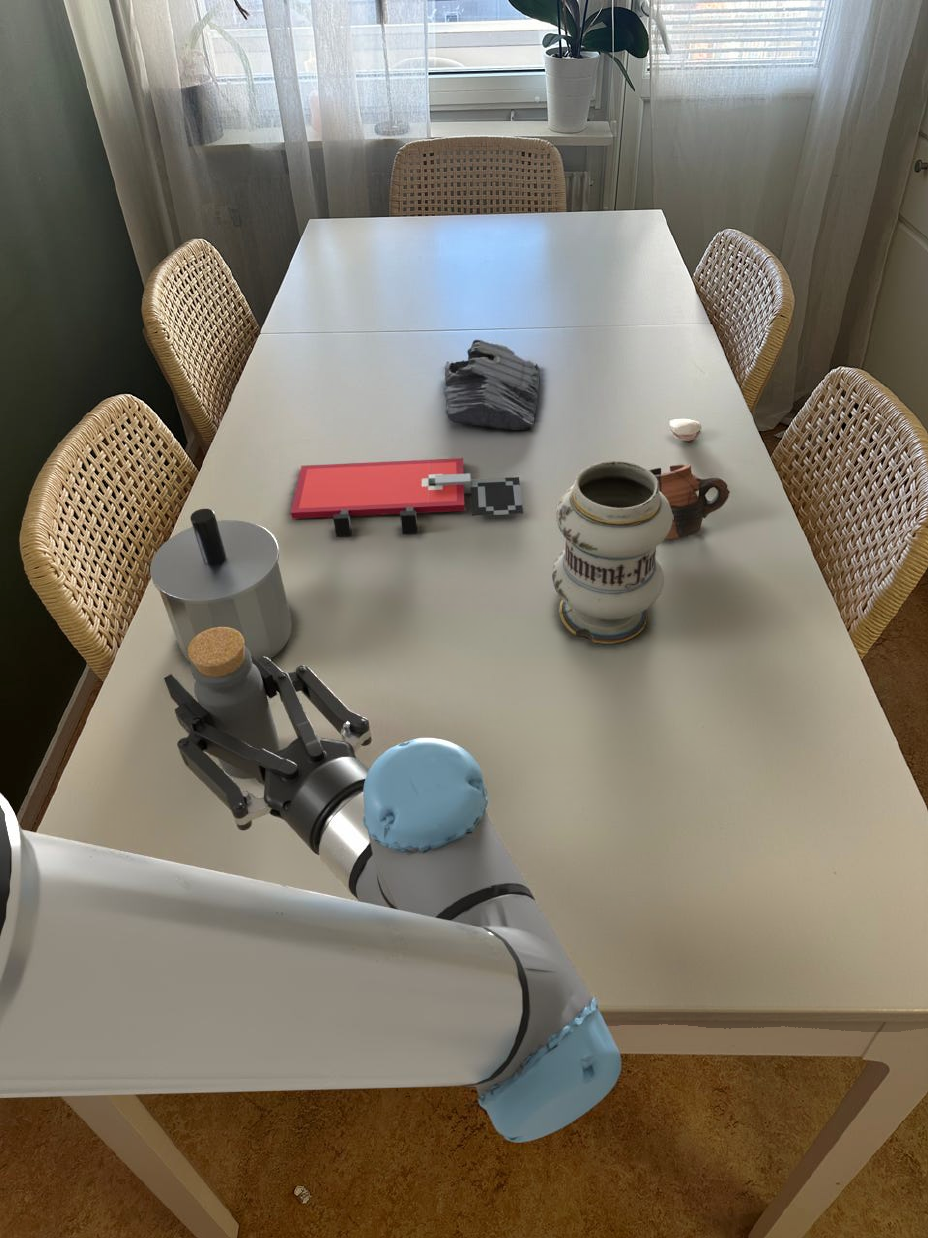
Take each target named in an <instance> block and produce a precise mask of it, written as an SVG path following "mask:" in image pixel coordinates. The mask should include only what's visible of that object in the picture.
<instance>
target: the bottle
mask: <svg viewBox="0 0 928 1238" xmlns="http://www.w3.org/2000/svg"><path fill="white" fill-rule="evenodd" d="M188 656H189V658H190V659H191V661H192V662H191V663H190V671H191V675H192V677H193V679H194V685H193V691H194V694H195V698H196V701H197V702H198V703H199V704H200V705H201V706H202V707H203V709H204V710H205V711H206V712H207V713H208V714H209V717H210V720H211V723H212V726H213V727H214V728H216V729H218V730H220V731H222V732H224V733H226V734H228V735H230V736H232V737H234V738H236V739H238V740H240V741H242V742H244V743H246V744H248V745H250V746H252V747H254V748H256V749H258V750H260V749H265V750H267V751H269V752H271V753H273V754H274V753H276V752H277V751H280V750H282V749H281V743H280V739H279V735H278V731H277V728H276V727H277V726H276V723H275V720H274V717H273V712H272V709H271V706H270V702H269V697H268V696H267V695H266V691H265V688H264V684H263V681H262V678H261V675H260V672H259V670H258V668H257V667H256V666H255V665H254V664H253V663H252V658H251V654H250V652H249V650H248V648H247V647H246V646H245V645H244V638H243V636H242V635H241V633H240V632H238V631H237V630H235V629H233V628H229V627H216V628H211V629H208V630H205V631H203V632H201V633H200V634H198V635H197V636H196V637H195V638H194V639H193V640H192V641H191V643H190V645H189V647H188ZM218 762H219V764H220V767H221V769H222V770H223V771H224V772H225V773H226V774H227V775H228V776H229V777H231V778H232V777H233V778H235V779H240V780H250V779H256V778H255V777H253V776H251V775H249V774H247V773H245V772H243V771H241V770H239V769H238V768H236V767H234V766H232V765H230V764H228V763H226V762H224V761H222V760H220V759H218Z"/></svg>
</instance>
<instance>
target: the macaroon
mask: <svg viewBox="0 0 928 1238" xmlns="http://www.w3.org/2000/svg"><path fill="white" fill-rule="evenodd" d="M669 428H670V431H671V434H672V435H673V437H674V438H675V439H677V440H678V441H679V440H680V441H683V442H690V441H694V440H695V439H696V438H698V437H699V436H700V435H701V433H702V432H701V431H702V424H701V423H700V422H699V421H698V420H695V419H690V418H677V419H672V420H670V421H669Z"/></svg>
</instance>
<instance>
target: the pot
mask: <svg viewBox="0 0 928 1238" xmlns="http://www.w3.org/2000/svg"><path fill="white" fill-rule="evenodd" d="M159 594H160V597H161V599H162V603H163V605H164V608H165V611H166V613H167V617H168V619H169V622H170V625H171V627H172V630H173V633H174V635H175V638H176V642H177V644H178V646H179V649H180V650H181V652H182V654H183V656H184V657H185V659H186V660H187V661H188V662H189V663H190V664H191V662H192V661H191V659H190V658H189V656H188V647H189V645H190V643H191V641H192V640H193V639H194V638H195V637H196V636H197V635H198V634H200V633H201V632H203V631H205V630H208V629H211V628H216V627H229V628H233V629H235V630H237V631H238V632H240V633H241V635H242V636H243V638H244V645H245V646H246V647H247V648H248V650H249V652H250V654H251V655H252V656H253V657H254V658H255V659H256V660H258V659H260V658H261V657H263V656H264V657H267V658H269V659H270V660H271V659H273V658H275V657H276V656H277V655H278V654H279V653H280V652H281V651H282V650H283V649H284V648H285V646H286V645H287V644H288V642H289V640H290V638H291V634H292V630H293V629H292V628H293V622H292V619H291V612H290V608H289V603H288V600H287V595H286V591H285V587H284V582H283V578H282V573H281V569H280V564H279V562H278V563H277V565H276V567H275V569H274V571H273V572H272V573H271V575H270V576H269V577H268V578H267V579H266V580H265V581H264V582H263V583H261V584H260V585H259V586H257V587H256V588H254V589H253V590H251V591H249V592H247V593H245V594H243V595H241V596H238V597H236V598H233V599H230V600H226V601H222V602H216V603H208V604H192V603H185V602H180V601H177V600H174V599H171V598H169V597H167V596H165V595H164V594H162V593H161V592H160V591H159Z"/></svg>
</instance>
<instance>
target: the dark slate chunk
mask: <svg viewBox="0 0 928 1238" xmlns="http://www.w3.org/2000/svg"><path fill="white" fill-rule="evenodd" d="M466 354H467V360H464V359H463V360H460V361H457V360H455V361H454V360H453V361H447V362H445V366H444V382H445V388H444V397H445V401H446V409H445V414H446V416H447V418H448V420H449V421H450V422H451V423H452V424H457V425H458V424H459V425H460V424H461V425H464V424H465V425H469V426H479V427H481V426H482V427H483V426H484V427H485V426H486V427H489V428H494V429H504V430H509V431H510V430H511V431H523V430H530V429H532V428H533V427H534V424H535V417H536V411H537V409H538V407H537V406H538V400H539V398H538V395H539V387H540V384H539V382H540V368H539V365H538V364H537V363H533V362H531V360H525V359H524V358H522V357H520V356H519V355H517V354H516V353H515V352H514V351H513V350H511V349H510V348H509V347H508V346H506V345H503V344H498V343H493V342H488V341H485V340H482V339H474V340H473V342H472V343H471V346H470V347H469V348H468V349H467V353H466Z"/></svg>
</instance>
